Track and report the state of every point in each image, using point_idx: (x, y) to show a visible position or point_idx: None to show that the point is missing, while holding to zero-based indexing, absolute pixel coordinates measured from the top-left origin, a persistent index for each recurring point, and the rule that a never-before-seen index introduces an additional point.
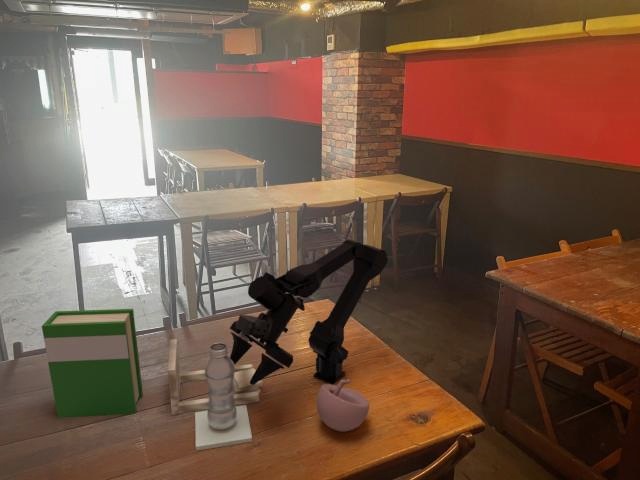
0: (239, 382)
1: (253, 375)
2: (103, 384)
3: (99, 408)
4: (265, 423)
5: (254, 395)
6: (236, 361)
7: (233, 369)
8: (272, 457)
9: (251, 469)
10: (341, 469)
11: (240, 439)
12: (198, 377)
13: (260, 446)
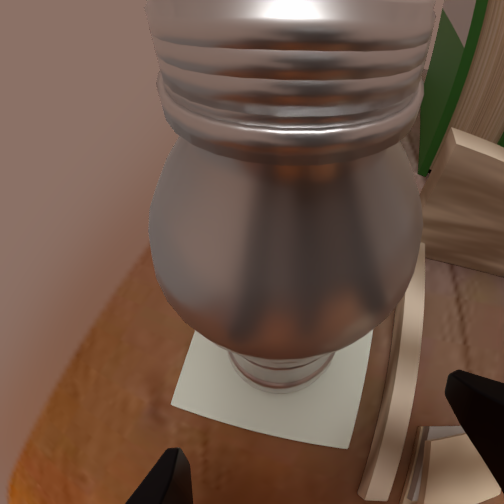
0: (457, 444)
1: (160, 485)
2: (440, 81)
3: (424, 118)
4: (235, 476)
5: (370, 485)
6: (470, 430)
7: (178, 310)
8: (95, 418)
9: (90, 354)
10: (14, 496)
11: (182, 371)
12: None
13: (145, 415)
